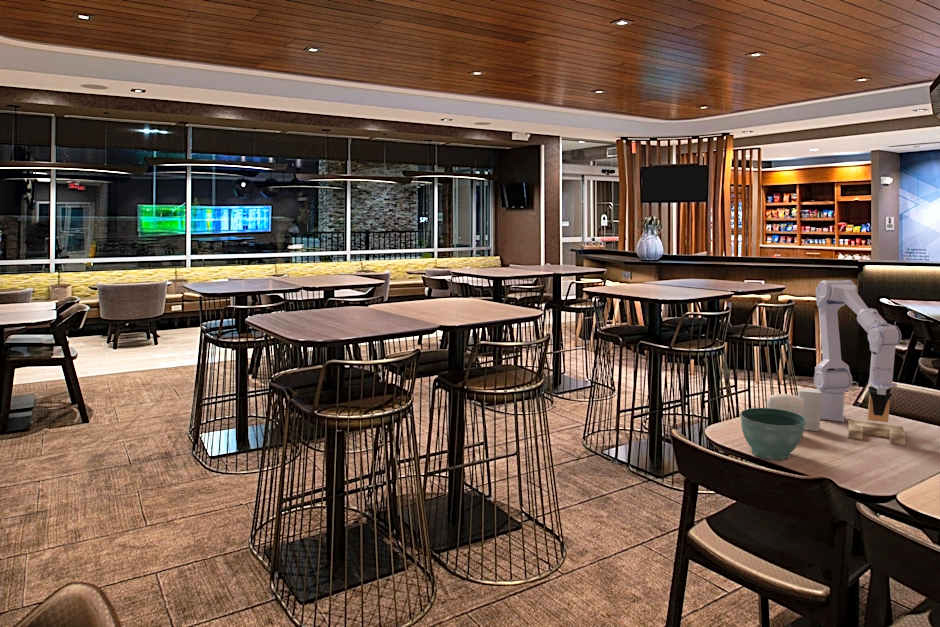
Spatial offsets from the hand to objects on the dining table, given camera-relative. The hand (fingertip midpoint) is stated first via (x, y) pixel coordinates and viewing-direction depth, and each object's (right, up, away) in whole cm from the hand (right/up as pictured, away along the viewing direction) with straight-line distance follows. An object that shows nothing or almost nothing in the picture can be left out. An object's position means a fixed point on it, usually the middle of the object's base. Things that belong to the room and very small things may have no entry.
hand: (877, 413), depth 200 cm
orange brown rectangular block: (0, -2, 0) cm, 2 cm away
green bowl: (-36, -10, -12) cm, 39 cm away
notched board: (+1, -7, +3) cm, 8 cm away
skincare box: (-15, -6, +11) cm, 20 cm away
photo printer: (-25, -7, +5) cm, 27 cm away
